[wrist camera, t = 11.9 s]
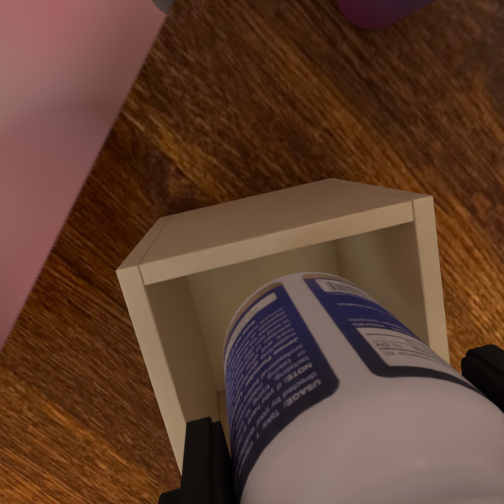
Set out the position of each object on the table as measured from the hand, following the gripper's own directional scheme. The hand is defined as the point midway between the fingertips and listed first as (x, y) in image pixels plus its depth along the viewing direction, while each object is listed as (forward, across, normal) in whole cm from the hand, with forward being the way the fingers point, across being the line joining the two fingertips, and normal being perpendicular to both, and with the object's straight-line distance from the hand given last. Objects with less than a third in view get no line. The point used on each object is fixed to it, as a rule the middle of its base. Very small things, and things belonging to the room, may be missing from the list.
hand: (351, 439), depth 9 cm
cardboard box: (+18, 0, +3) cm, 18 cm away
